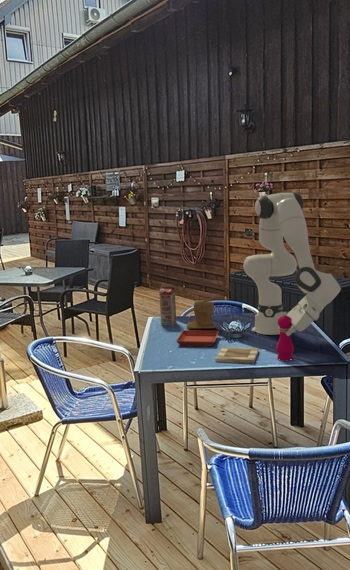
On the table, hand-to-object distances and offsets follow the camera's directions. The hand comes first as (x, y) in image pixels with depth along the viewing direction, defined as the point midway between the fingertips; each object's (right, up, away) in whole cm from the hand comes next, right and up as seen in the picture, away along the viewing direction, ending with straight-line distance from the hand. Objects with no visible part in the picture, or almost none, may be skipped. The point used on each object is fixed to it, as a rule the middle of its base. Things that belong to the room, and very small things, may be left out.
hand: (284, 331), depth 211 cm
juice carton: (-49, -2, +68) cm, 84 cm away
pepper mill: (+1, -12, +2) cm, 12 cm away
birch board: (-19, -11, +8) cm, 23 cm away
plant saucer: (-34, -8, +33) cm, 48 cm away
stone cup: (-32, -4, +56) cm, 65 cm away
